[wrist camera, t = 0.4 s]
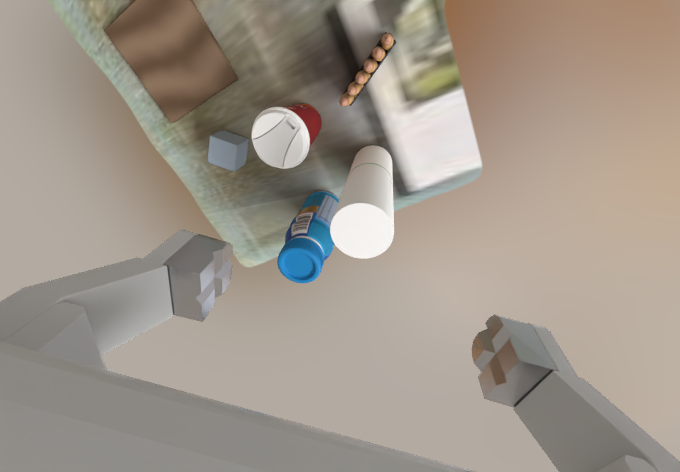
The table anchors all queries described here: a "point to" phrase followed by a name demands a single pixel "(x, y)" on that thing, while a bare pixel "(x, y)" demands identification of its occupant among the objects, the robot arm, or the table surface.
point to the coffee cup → (285, 134)
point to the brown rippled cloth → (172, 53)
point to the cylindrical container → (365, 206)
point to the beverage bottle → (309, 239)
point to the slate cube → (227, 150)
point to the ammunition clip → (368, 69)
